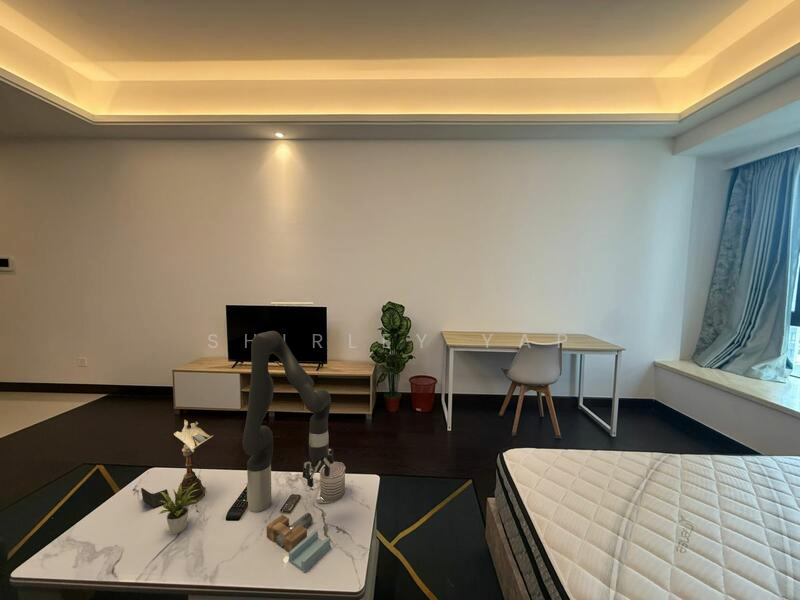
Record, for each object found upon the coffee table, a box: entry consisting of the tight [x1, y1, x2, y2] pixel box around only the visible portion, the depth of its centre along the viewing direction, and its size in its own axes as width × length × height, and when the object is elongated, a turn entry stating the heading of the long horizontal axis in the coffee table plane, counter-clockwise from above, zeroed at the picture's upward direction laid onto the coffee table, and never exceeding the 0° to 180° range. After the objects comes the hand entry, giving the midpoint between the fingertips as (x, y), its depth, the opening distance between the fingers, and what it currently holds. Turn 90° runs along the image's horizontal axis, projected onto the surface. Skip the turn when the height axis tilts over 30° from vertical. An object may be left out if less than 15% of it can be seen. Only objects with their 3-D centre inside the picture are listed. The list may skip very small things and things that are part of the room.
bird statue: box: [173, 419, 215, 507], centre depth 143 cm, size 17×13×35 cm
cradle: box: [288, 529, 332, 573], centre depth 114 cm, size 8×12×4 cm, turn 147°
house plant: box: [158, 483, 197, 535], centre depth 125 cm, size 14×14×16 cm
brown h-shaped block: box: [265, 514, 308, 553], centre depth 121 cm, size 14×7×6 cm, turn 57°
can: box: [318, 461, 346, 503], centre depth 146 cm, size 11×11×12 cm
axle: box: [275, 512, 314, 548], centre depth 124 cm, size 14×4×4 cm, turn 147°
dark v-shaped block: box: [140, 487, 170, 510], centre depth 141 cm, size 12×7×10 cm
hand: (318, 481), depth 130 cm, fingers open, 8 cm apart
